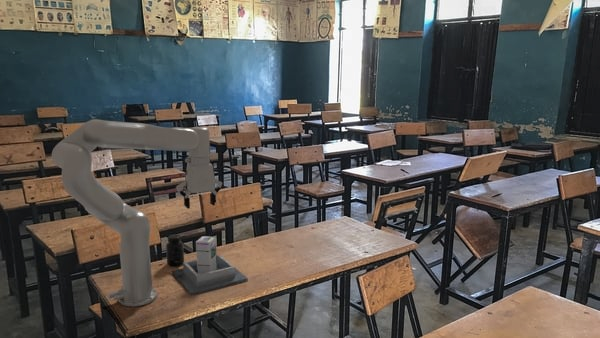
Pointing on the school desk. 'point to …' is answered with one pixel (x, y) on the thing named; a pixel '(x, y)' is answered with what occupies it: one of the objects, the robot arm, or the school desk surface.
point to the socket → (208, 276)
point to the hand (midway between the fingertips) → (200, 206)
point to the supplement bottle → (174, 251)
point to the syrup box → (206, 254)
